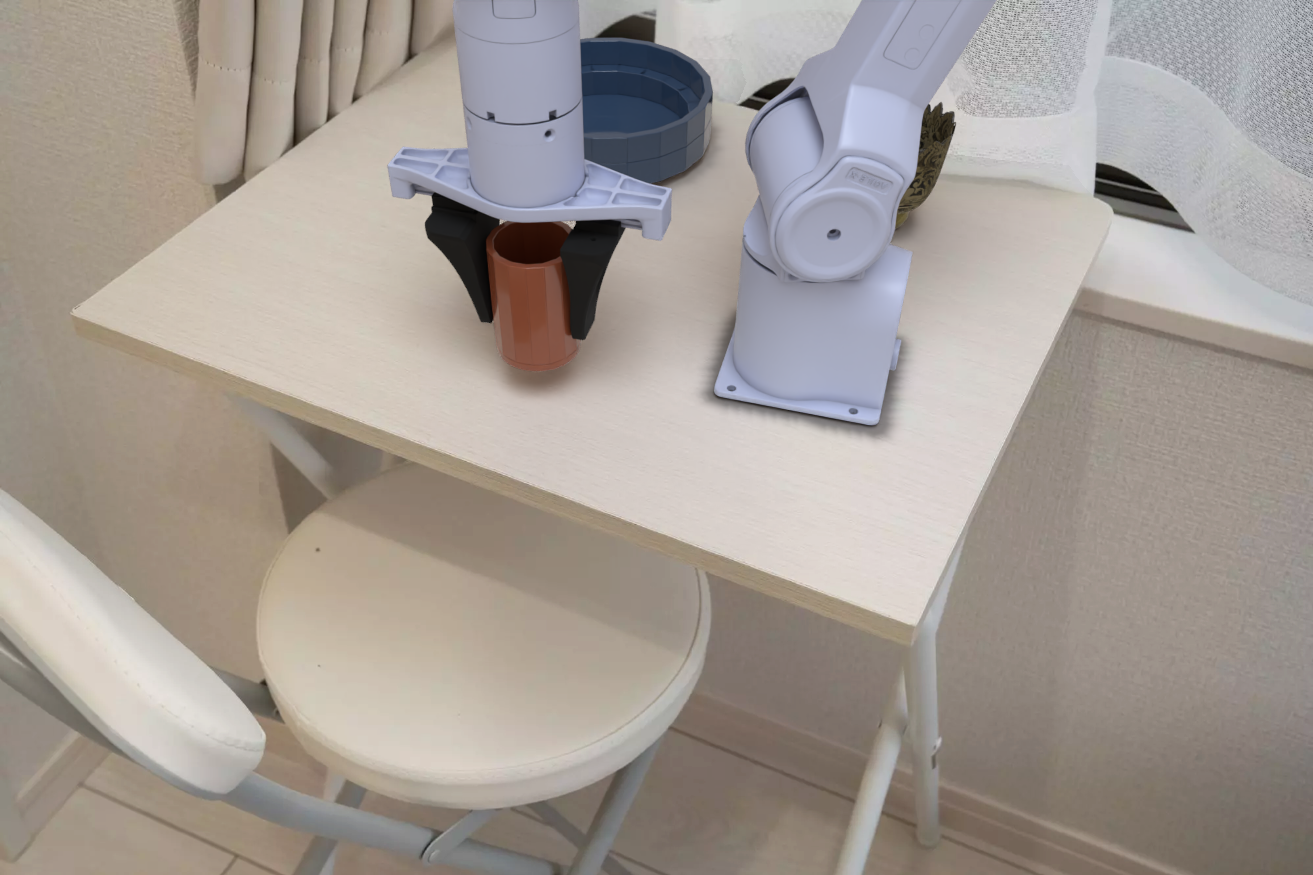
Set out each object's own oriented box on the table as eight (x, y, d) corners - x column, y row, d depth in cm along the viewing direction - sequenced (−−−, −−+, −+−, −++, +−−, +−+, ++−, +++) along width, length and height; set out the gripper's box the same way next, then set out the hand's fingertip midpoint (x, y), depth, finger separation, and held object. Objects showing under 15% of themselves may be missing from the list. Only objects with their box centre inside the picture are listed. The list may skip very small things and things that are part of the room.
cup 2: (913, 264, 78) (936, 156, 72) (809, 233, 80) (823, 126, 74) (947, 208, 82) (970, 103, 77) (848, 181, 85) (863, 77, 79)
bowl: (728, 107, 92) (732, 52, 89) (681, 210, 82) (683, 152, 78) (543, 80, 95) (541, 26, 92) (475, 176, 84) (469, 119, 81)
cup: (592, 326, 68) (588, 223, 63) (566, 378, 65) (560, 274, 60) (513, 312, 69) (504, 209, 64) (484, 363, 66) (472, 259, 61)
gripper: (689, 78, 58) (681, 300, 67) (414, 40, 60) (444, 259, 70) (652, 149, 53) (649, 378, 62) (354, 104, 55) (394, 331, 65)
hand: (538, 320), depth 66 cm, fingers closed on cup, 5 cm apart
